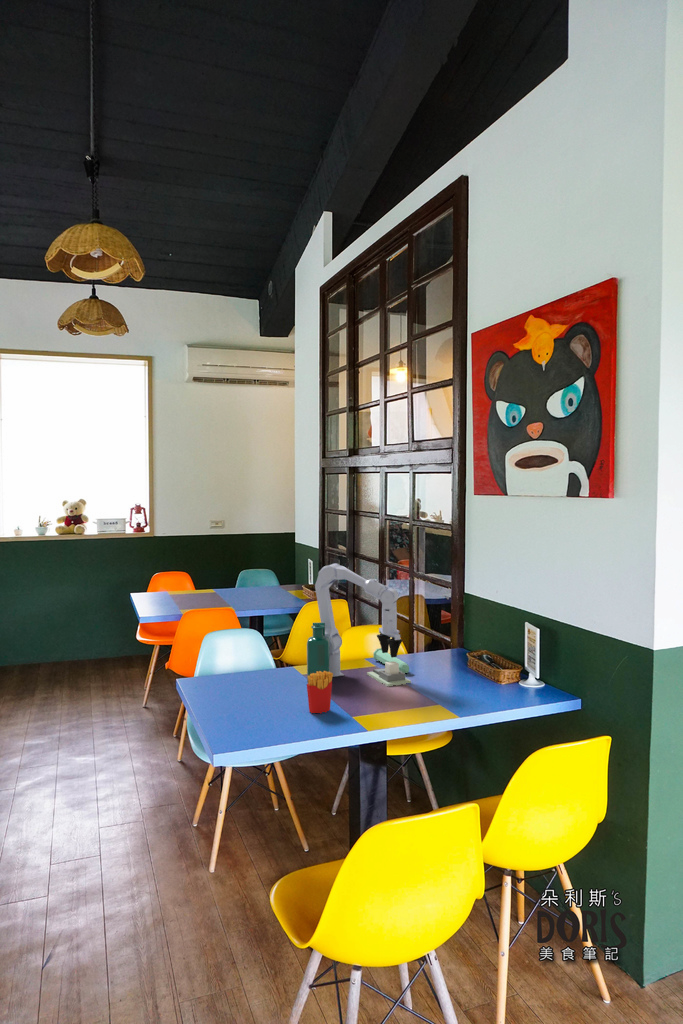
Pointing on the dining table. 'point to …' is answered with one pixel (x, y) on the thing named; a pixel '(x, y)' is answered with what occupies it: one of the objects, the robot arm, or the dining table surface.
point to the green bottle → (318, 650)
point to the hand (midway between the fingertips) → (389, 654)
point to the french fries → (319, 691)
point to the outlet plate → (388, 677)
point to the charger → (391, 667)
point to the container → (390, 660)
